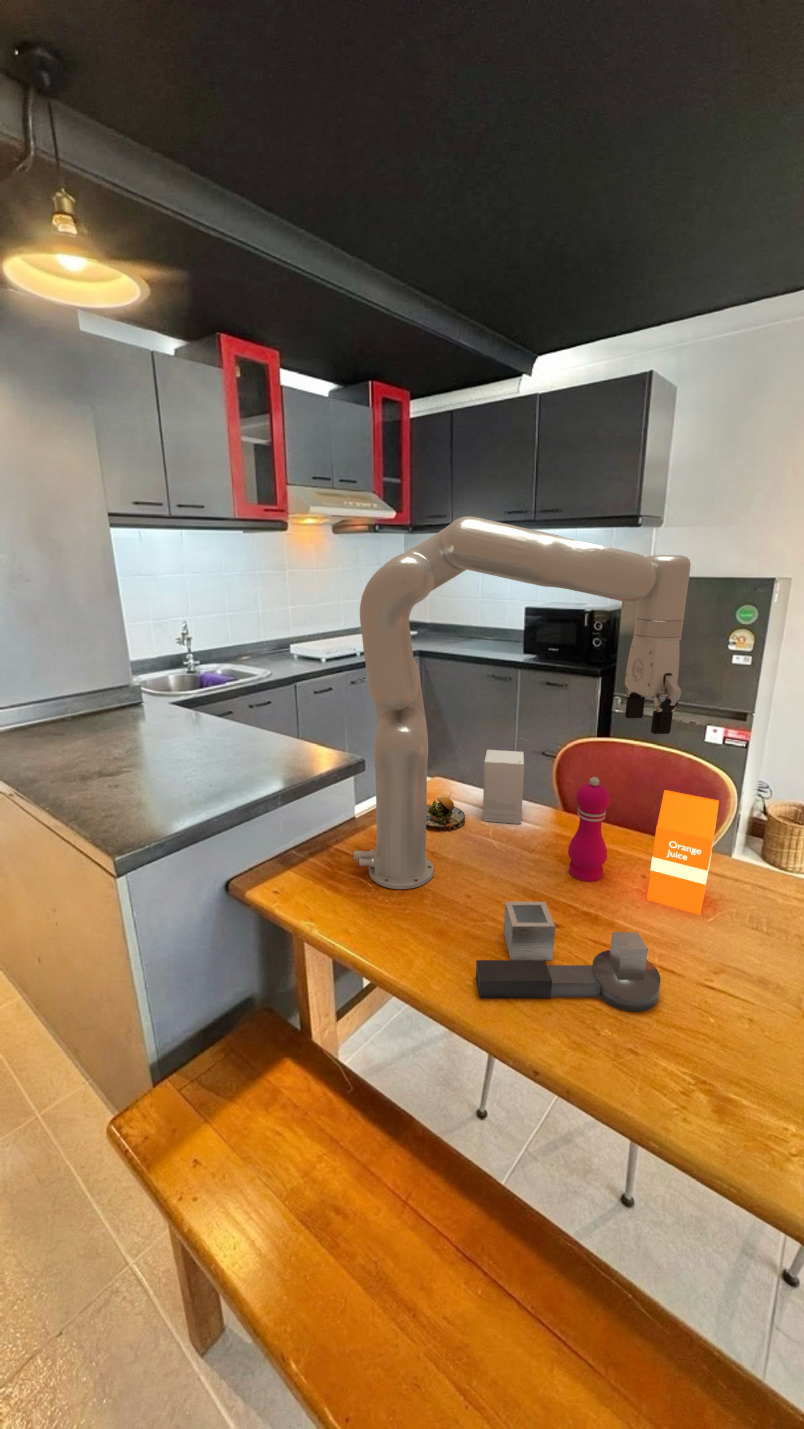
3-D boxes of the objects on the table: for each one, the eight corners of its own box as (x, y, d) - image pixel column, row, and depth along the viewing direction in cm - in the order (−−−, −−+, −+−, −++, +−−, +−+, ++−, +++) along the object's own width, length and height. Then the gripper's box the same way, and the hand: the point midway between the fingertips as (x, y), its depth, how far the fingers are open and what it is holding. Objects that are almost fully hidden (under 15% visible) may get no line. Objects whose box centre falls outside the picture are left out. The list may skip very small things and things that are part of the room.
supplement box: (521, 809, 141) (525, 751, 137) (521, 825, 132) (524, 763, 128) (484, 805, 143) (486, 748, 139) (481, 821, 134) (483, 760, 130)
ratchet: (481, 1011, 78) (484, 961, 76) (473, 966, 87) (475, 920, 85) (669, 1012, 78) (676, 962, 76) (642, 966, 87) (648, 920, 85)
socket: (510, 960, 88) (512, 926, 87) (503, 933, 94) (505, 901, 93) (552, 960, 88) (555, 926, 87) (542, 933, 94) (545, 901, 93)
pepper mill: (600, 864, 116) (610, 771, 110) (609, 884, 109) (620, 785, 103) (563, 862, 116) (571, 769, 111) (569, 882, 109) (578, 784, 104)
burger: (416, 809, 141) (416, 781, 139) (465, 811, 140) (466, 783, 138) (412, 832, 130) (412, 801, 128) (465, 834, 128) (466, 803, 126)
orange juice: (700, 915, 99) (717, 808, 94) (646, 899, 104) (659, 797, 99) (705, 893, 106) (721, 792, 100) (653, 879, 110) (666, 782, 105)
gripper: (614, 623, 107) (606, 713, 111) (662, 636, 90) (649, 740, 95) (654, 623, 107) (643, 712, 112) (708, 636, 91) (693, 739, 95)
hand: (646, 725), depth 103 cm, fingers open, 9 cm apart
